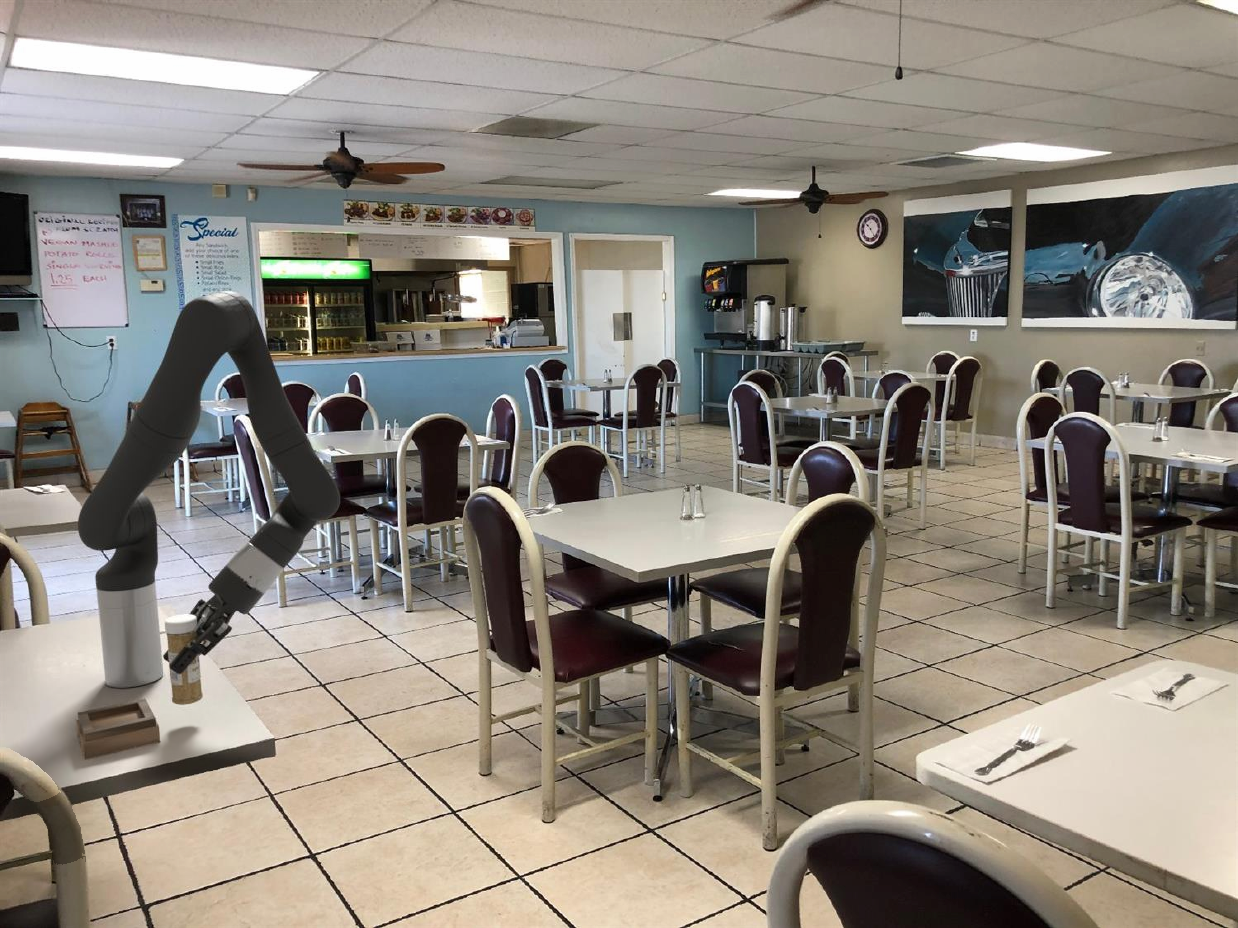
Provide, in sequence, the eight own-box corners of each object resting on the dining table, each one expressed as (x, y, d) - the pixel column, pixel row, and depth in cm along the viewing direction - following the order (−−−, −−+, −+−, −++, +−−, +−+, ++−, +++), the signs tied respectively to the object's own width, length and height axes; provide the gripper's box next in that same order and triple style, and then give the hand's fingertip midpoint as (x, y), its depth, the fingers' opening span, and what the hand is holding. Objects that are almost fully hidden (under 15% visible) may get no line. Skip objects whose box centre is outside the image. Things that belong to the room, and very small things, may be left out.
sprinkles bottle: (205, 701, 153) (199, 619, 151) (174, 708, 150) (167, 624, 148) (199, 692, 157) (193, 611, 154) (169, 698, 154) (162, 616, 152)
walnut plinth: (77, 735, 149) (75, 712, 149) (148, 719, 155) (146, 697, 154) (85, 759, 141) (82, 735, 141) (160, 741, 147) (158, 718, 146)
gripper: (217, 555, 160) (142, 640, 155) (239, 574, 148) (159, 667, 144) (253, 581, 164) (181, 665, 159) (277, 602, 152) (200, 693, 147)
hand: (171, 665), depth 151 cm, fingers closed on sprinkles bottle, 4 cm apart
